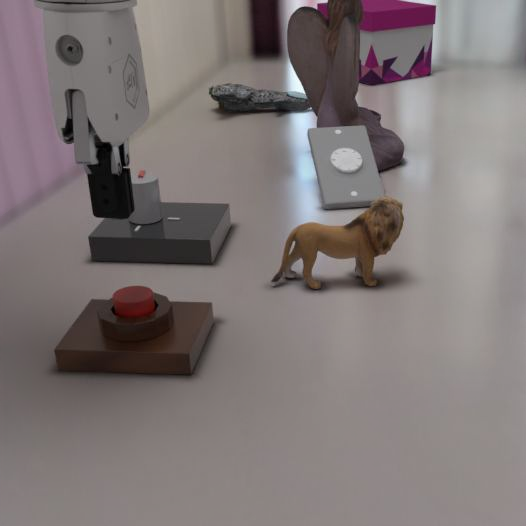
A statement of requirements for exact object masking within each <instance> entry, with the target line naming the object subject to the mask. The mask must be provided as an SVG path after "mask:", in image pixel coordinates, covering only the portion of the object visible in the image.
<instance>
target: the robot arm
mask: <svg viewBox="0 0 526 526" xmlns="http://www.w3.org/2000/svg"><path fill="white" fill-rule="evenodd" d="M33 5H34V7H35V8H37V9H41V10H42V21H43V22H42V23H43V24H42V25H43V39H44V52H45V60H46V62H45V63H46V70H47V71H46V72H47V79H48V89H49V95H50V96H49V97H50V102H51V108H52V115H53V119H54V124H55V128H56V133H57V135H58V138H59V139H60V140H61V141H62V142H63V143H64V144H66V145H72V144H73V149H74V151H73V153H74V161H75V164H76V165H83V169H84V172H85V174H86V178H87V184H88V191H89V197H90V198H89V199H90V202H91V204H90V205H91V210H92V216H94V217H95V218H96V219H97V218H98V219H104V218H116V219H127V218H129V217H130V215H131V214H132V213H133V212H134V210H135V207H134V198H133V190H132V181H131V174H132V173H131V168H130V164H131V156H130V143H129V139H130V138H131V137H132V136H133V135H134V134H135V133H136V132H137V131H138V130H139V129H140V128H141V127H142V126H143V125H144V124H145V123H147V121H148V119H149V117H150V102H149V101H150V100H149V95H148V88H147V87H148V86H147V81H146V74H145V67H144V60H143V59H144V58H143V53H142V47H141V42H140V35H139V31H138V26H137V21H136V16H135V11H134V8H135V7H136V6H138V0H33Z"/></svg>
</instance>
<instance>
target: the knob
mask: <svg viewBox="0 0 526 526" xmlns="http://www.w3.org/2000/svg"><path fill="white" fill-rule="evenodd" d="M131 181H132V190H133V198H134V207H135V210H134V212H133V213H132V214H131V215H130V217H129V218H128V220H129V221H130V222H131V223H135V224H151V223H155V222H158V221H160V220H161V219H162V217H163V215H162V207H161V202H162V199H161V192H160V191H161V190H160V182H159V181H160V180H159V176H158V175H157V174H155V173H151V172H146V170H145V169H141V170H139V172H136V173H131Z"/></svg>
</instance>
